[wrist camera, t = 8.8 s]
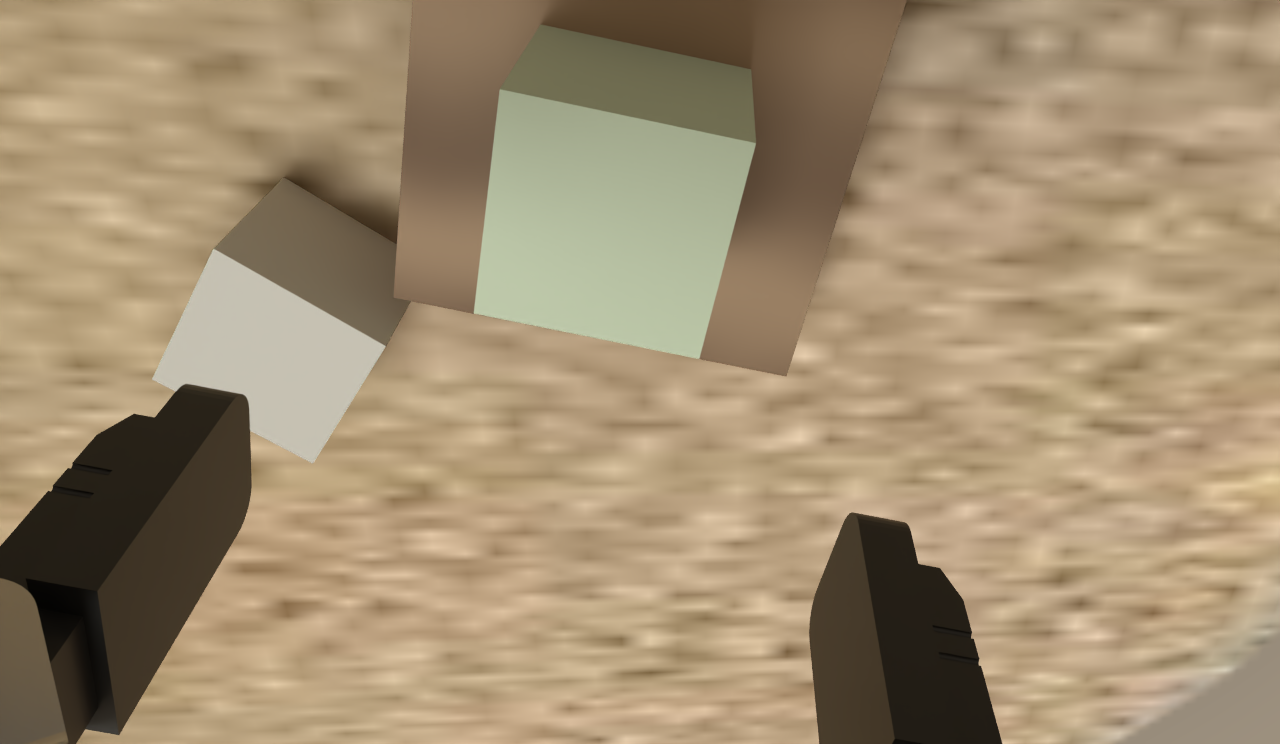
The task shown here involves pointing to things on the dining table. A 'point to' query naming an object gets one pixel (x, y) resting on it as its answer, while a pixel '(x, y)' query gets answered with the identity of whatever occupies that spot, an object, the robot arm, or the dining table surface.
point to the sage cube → (614, 190)
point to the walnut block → (679, 23)
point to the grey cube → (289, 317)
